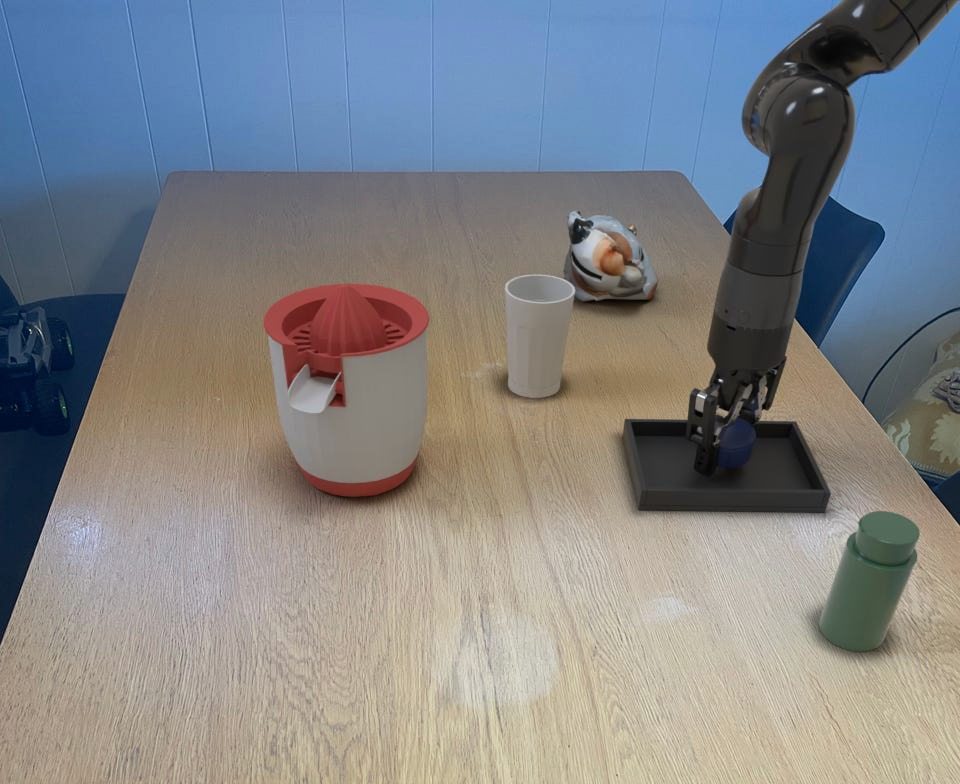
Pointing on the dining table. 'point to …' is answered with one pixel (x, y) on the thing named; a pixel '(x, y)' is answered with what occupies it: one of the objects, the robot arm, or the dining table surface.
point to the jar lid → (735, 445)
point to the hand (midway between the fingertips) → (721, 460)
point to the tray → (723, 471)
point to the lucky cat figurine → (607, 260)
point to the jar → (870, 581)
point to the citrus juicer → (351, 384)
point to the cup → (537, 332)
